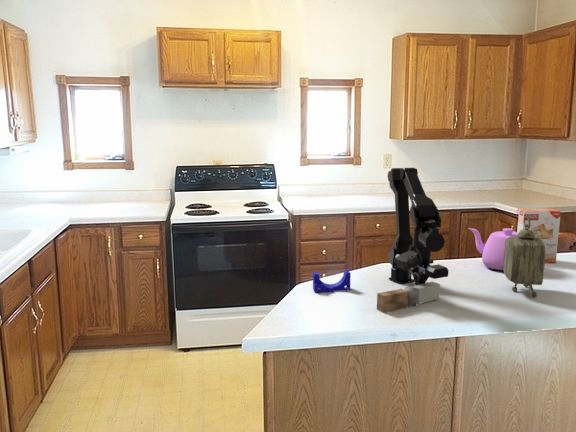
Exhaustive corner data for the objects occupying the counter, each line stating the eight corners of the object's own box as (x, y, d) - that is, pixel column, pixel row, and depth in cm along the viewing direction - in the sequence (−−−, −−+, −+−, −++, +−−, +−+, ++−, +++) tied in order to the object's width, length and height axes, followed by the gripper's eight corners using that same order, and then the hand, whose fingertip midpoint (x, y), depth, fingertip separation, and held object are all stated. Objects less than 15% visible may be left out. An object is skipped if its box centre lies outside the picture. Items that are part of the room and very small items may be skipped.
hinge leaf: (410, 306, 153) (410, 291, 152) (400, 303, 156) (401, 288, 156) (440, 298, 160) (440, 284, 159) (430, 295, 163) (431, 281, 163)
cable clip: (314, 293, 168) (314, 275, 167) (312, 289, 172) (313, 271, 171) (351, 292, 169) (351, 274, 168) (348, 287, 173) (348, 270, 172)
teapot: (535, 263, 201) (538, 225, 199) (524, 276, 184) (527, 235, 182) (475, 255, 214) (477, 220, 212) (460, 267, 197) (462, 228, 195)
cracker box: (520, 263, 202) (524, 210, 198) (514, 259, 208) (518, 208, 204) (557, 263, 201) (561, 210, 198) (550, 259, 207) (554, 208, 204)
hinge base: (410, 302, 158) (411, 286, 158) (419, 305, 155) (419, 289, 154) (376, 309, 153) (376, 292, 152) (384, 313, 149) (384, 296, 148)
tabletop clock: (541, 299, 160) (548, 220, 156) (510, 297, 162) (516, 219, 157) (530, 285, 174) (535, 212, 170) (501, 284, 176) (506, 211, 171)
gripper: (382, 238, 164) (379, 285, 167) (422, 253, 147) (418, 305, 150) (410, 235, 169) (407, 281, 172) (451, 249, 152) (447, 299, 155)
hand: (418, 291), depth 162 cm, fingers closed
